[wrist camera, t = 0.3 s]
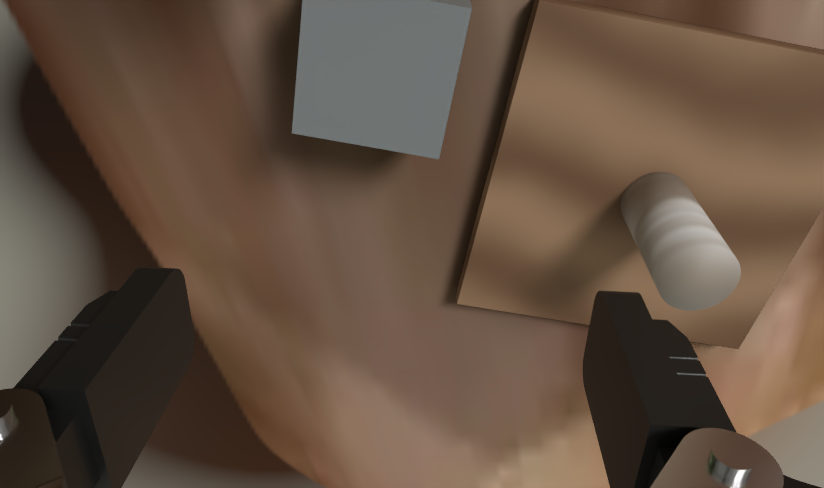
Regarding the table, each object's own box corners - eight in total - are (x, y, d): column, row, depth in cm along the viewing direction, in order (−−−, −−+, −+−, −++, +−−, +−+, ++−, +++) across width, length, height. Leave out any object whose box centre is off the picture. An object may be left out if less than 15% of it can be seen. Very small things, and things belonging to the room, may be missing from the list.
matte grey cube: (324, -48, 27) (304, -24, 23) (466, -20, 27) (471, 8, 23) (311, 90, 30) (291, 133, 26) (438, 113, 31) (438, 159, 26)
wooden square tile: (535, -7, 28) (565, 44, 21) (888, 62, 29) (1017, 131, 22) (456, 290, 36) (460, 390, 30) (730, 334, 37) (790, 440, 31)
